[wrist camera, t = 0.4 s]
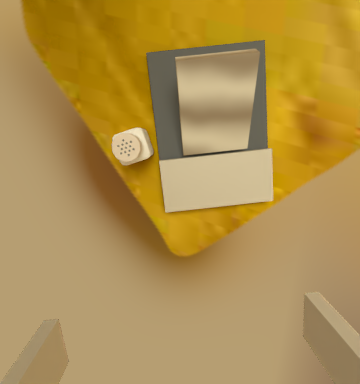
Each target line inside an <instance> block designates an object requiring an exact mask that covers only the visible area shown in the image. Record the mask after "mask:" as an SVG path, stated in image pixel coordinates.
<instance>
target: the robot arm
mask: <svg viewBox="0 0 360 384" xmlns="http://www.w3.org/2000/svg"><path fill="white" fill-rule="evenodd" d="M303 327H304V328H303V337H304V338H305V340H306V341H307V342H308V344H309V346H310V347H311V349H312V350H313V352H314V353H315V355H316V356H317V358H318V360H319V361H320V362H321V364H322V366H323V367H324V368H325V370H326V371H327V373H328V375H329V376H330V378H331V379H332V381H333V382H334V384H360V335H359V334H358V333H357V332H356V331H355V330H354V329H353V328H352V327H351V326H350V324H349V323H348V322H347V321H346V320H345V319H344V318H343V317H342V316H341V315H340V314H339V313H338V312H337V311H336V310H335V309H334V308H333V307H332V306H331V305H330V303H328V301H327V300H326V299H325V298H324V297H323V296H322V295H321V294H320V293H319V292H311V293H304V325H303ZM68 362H69V360H68V356H67V352H66V348H65V343H64V340H63V335H62V331H61V327H60V323H59V319H54V320H45V321H43V323H42V324H41V326H40V327H39V329H38V330H37V331H36V333H35V334H34V336H33V337H32V338H31V340H30V341H29V343H28V344H27V345H26V347H25V348H24V350H23V351H22V353H21V354H20V355H19V357H18V358H17V360H16V361H15V363H14V364H13V365H12V367H11V368H10V370H9V371H8V373H7V374H6V375H5V377H4V378H3V380H2V381H1V383H0V384H59V382H60V379H61V377H62V375H63V373H64V371H65V369H66V366H67V364H68Z"/></svg>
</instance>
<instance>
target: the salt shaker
mask: <svg viewBox="0 0 360 384" xmlns="http://www.w3.org/2000/svg"><path fill="white" fill-rule="evenodd" d="M112 142H113V143H112V152H113V154H114V155H115V157H116V158H117V159H119V160H120V162H121V163H122V164H123V165H130V164H133V163H136V162H139V161H142V160H145V159H148V158H149V157H150V156H151V155H153V152H154V150H153V148H152V145H151V142H150V139H149V136H148V133H147V131H146V130H145V129H142V128H137V127H136V128H133V129H130V130H127V131H124V132H121V133H118V134H116V135H114V136H113V139H112Z"/></svg>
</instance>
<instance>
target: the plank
mask: <svg viewBox="0 0 360 384" xmlns="http://www.w3.org/2000/svg"><path fill="white" fill-rule="evenodd" d="M259 57H260V52H259V51H258V50H257V49H248V50H238V51H229V52H219V53H210V54H201V55H191V56H182V57H175V61H176V74H177V86H178V99H179V111H180V123H181V136H182V148H183V155H193V154H202V153H211V152H220V151H230V150H239V149H247V147H248V140H249V132H250V125H251V117H252V110H253V102H254V94H255V87H256V79H257V72H258V64H259Z"/></svg>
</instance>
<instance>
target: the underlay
mask: <svg viewBox="0 0 360 384" xmlns="http://www.w3.org/2000/svg"><path fill="white" fill-rule="evenodd" d="M248 49H257V50H258V51H259V52H260V57H259V64H258V72H257V79H256V87H255V94H254V102H253V110H252V117H251V125H250V132H249V140H248V147H247V149H239V150H230V151H220V152H211V153H202V154H193V155H183V148H182V136H181V123H180V111H179V99H178V86H177V74H176V61H175V57H182V56H191V55H201V54H210V53H219V52H229V51H238V50H248ZM146 54H147V62H148V70H149V78H150V86H151V94H152V102H153V110H154V118H155V126H156V134H157V142H158V150H159V158H160V161H159V164H160V172H161V180H162V188H163V196H164V204H165V212H175V211H184V210H193V209H202V208H211V207H220V206H229V205H238V204H247V203H256V202H265V201H273V172H272V149H270V148H268V146H267V109H266V72H265V40H262V41H253V42H243V43H234V44H225V45H215V46H206V47H196V48H187V49H178V50H168V51H159V52H149V53H146Z"/></svg>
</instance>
